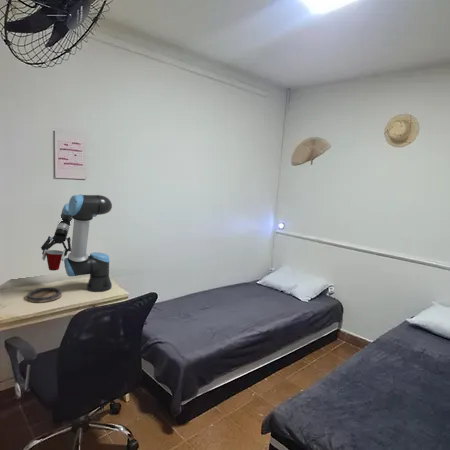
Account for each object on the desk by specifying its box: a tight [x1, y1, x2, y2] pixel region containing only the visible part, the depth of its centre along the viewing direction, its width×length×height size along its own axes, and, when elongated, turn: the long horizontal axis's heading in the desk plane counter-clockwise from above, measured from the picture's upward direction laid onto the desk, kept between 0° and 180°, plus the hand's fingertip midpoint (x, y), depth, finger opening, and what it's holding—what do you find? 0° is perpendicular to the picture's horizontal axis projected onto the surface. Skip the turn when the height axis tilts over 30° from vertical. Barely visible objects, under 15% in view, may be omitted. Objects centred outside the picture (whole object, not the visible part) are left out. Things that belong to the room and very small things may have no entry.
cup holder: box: [26, 287, 63, 304], centre depth 197 cm, size 18×18×3 cm
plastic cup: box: [45, 249, 64, 271], centre depth 213 cm, size 11×11×12 cm
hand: (52, 259), depth 210 cm, fingers closed on plastic cup, 11 cm apart
